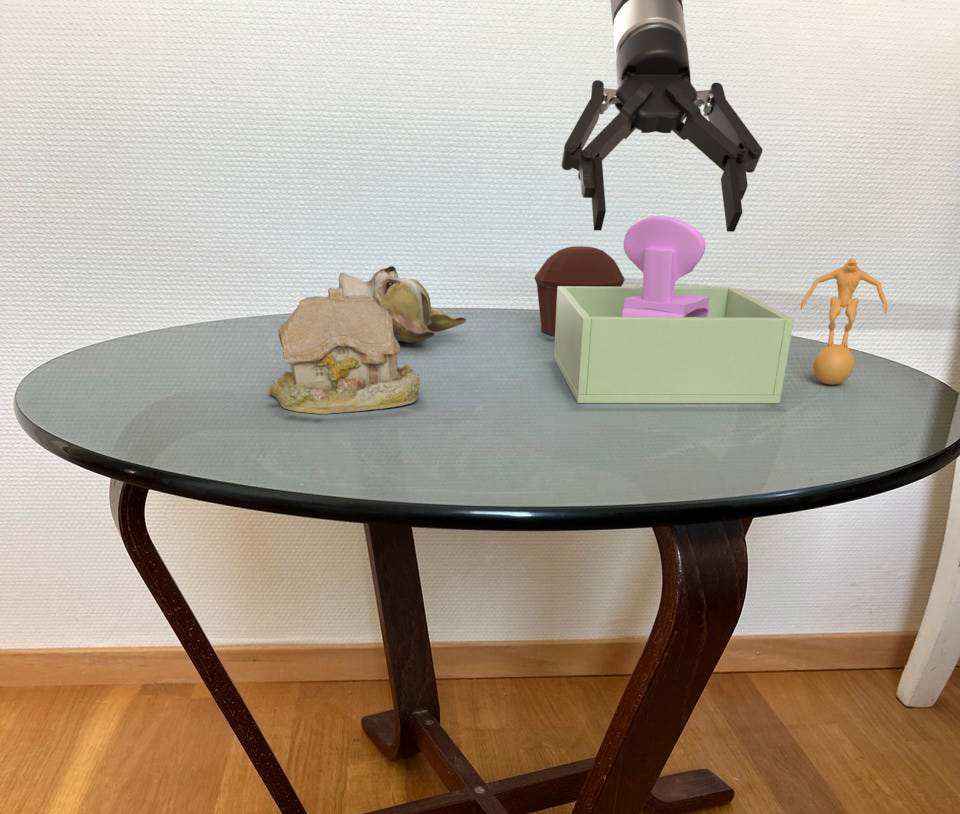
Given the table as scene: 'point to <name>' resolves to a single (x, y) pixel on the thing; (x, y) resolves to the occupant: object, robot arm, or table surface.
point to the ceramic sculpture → (401, 304)
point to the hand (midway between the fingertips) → (667, 222)
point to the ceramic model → (342, 357)
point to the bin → (670, 348)
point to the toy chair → (664, 267)
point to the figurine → (838, 359)
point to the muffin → (572, 277)
